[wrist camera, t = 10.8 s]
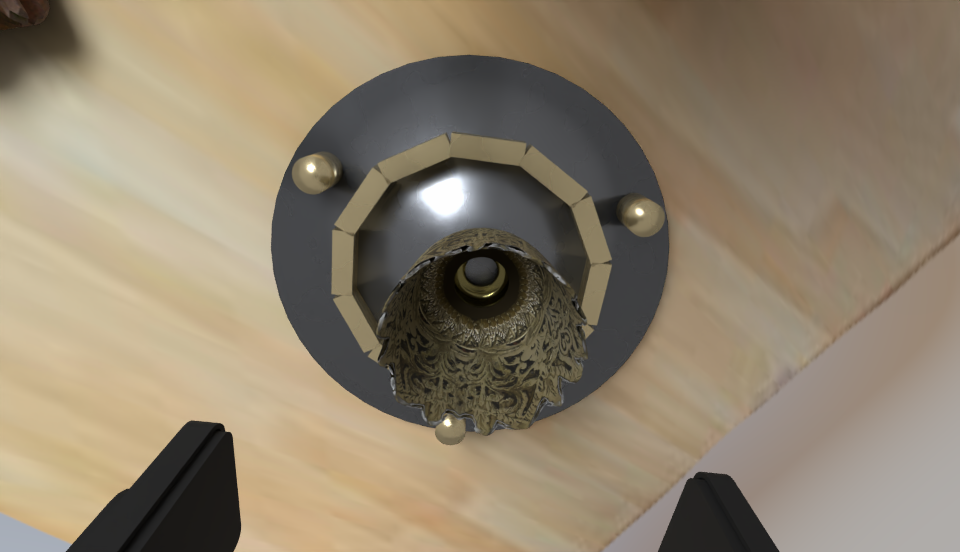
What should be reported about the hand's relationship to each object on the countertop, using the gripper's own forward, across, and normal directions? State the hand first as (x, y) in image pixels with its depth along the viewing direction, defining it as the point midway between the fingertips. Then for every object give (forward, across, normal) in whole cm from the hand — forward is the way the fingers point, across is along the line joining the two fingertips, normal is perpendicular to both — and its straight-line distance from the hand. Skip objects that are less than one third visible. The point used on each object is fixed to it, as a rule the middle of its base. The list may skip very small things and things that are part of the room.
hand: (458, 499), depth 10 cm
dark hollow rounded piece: (+15, -1, +1) cm, 15 cm away
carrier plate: (+16, 0, +1) cm, 16 cm away
